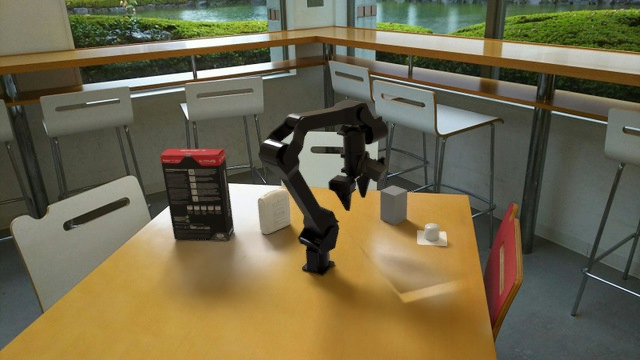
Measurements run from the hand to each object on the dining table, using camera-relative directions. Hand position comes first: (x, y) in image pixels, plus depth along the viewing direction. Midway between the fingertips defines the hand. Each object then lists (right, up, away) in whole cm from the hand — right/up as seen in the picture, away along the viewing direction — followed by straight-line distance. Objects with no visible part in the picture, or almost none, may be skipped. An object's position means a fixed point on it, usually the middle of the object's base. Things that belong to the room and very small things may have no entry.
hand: (355, 203), depth 129 cm
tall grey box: (+13, -7, +16) cm, 22 cm away
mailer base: (+22, -11, +5) cm, 25 cm away
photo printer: (-23, -8, +17) cm, 30 cm away
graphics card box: (-44, -11, +14) cm, 48 cm away
